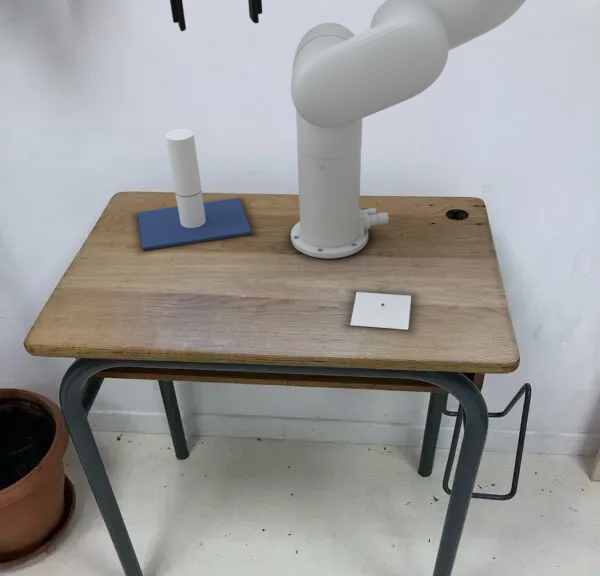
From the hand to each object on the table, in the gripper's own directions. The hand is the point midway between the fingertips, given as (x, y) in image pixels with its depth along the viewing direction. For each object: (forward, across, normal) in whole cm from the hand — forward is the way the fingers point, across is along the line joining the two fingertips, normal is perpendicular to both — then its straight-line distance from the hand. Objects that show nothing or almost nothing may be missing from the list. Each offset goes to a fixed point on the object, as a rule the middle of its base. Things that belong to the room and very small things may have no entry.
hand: (218, 24), depth 91 cm
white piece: (+32, +16, -25) cm, 44 cm away
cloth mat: (+32, -7, +7) cm, 34 cm away
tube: (+32, -7, +7) cm, 33 cm away
